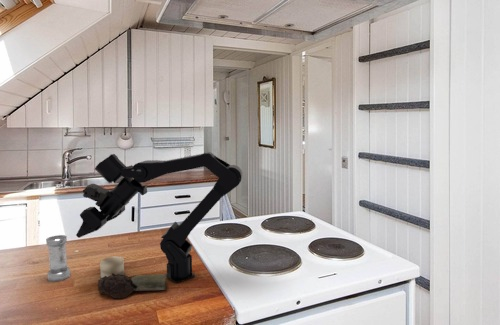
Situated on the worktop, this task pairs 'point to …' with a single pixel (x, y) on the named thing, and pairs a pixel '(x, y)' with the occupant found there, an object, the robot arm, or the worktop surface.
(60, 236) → the metal knob
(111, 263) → the fitting stand
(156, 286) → the brown and green club
